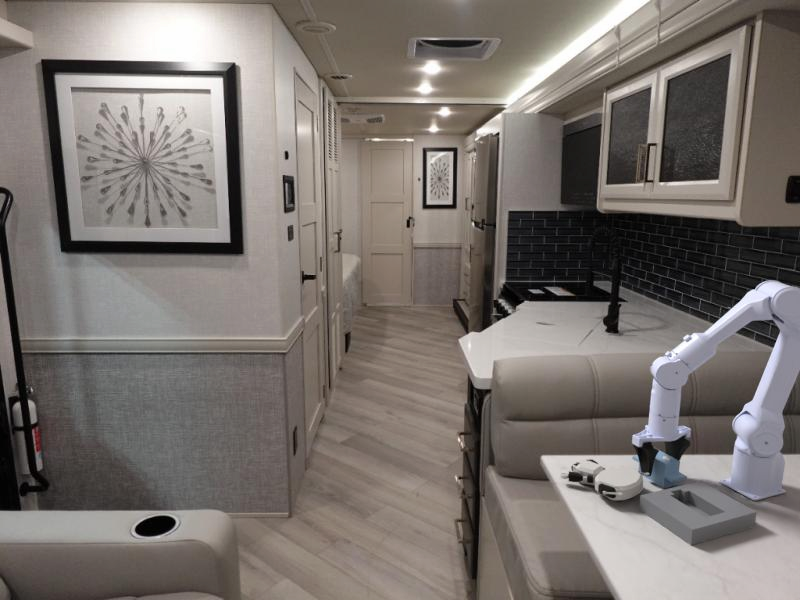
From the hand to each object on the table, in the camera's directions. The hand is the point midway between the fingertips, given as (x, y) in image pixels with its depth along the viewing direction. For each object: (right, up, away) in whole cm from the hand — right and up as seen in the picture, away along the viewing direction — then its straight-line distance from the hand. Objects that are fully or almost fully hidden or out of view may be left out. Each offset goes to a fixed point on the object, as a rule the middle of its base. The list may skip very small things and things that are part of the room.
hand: (658, 471), depth 118 cm
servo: (0, -2, 0) cm, 2 cm away
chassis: (0, -4, -14) cm, 15 cm away
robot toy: (-13, -3, -3) cm, 14 cm away
